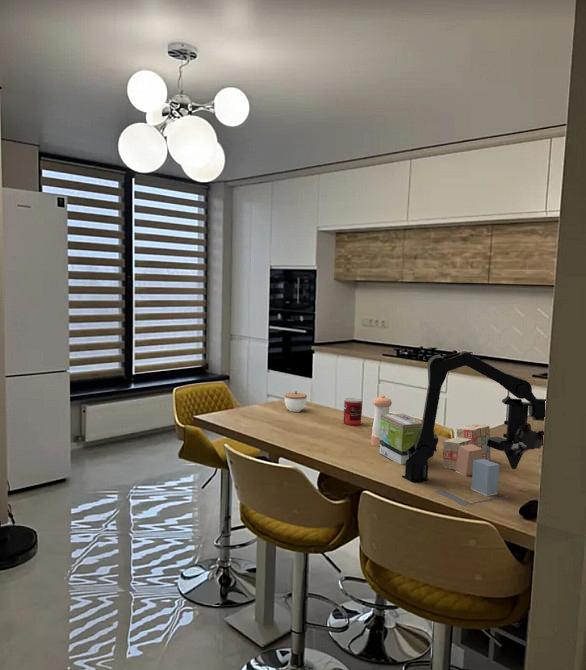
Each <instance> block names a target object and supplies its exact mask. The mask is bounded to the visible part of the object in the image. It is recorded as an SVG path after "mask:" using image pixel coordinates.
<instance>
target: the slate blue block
mask: <svg viewBox="0 0 586 670" xmlns="http://www.w3.org/2000/svg"><path fill="white" fill-rule="evenodd" d="M499 476H500V464H499V463H496V462H493V461H491V460H486V459H479V460H473V472H472V475H471V485H470V486H471V489H470V490H472V491H475V492H477V493H479V494H481V495H483V496H485V497H489V496H494V495H498V492H499V479H500V477H499Z"/></svg>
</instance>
